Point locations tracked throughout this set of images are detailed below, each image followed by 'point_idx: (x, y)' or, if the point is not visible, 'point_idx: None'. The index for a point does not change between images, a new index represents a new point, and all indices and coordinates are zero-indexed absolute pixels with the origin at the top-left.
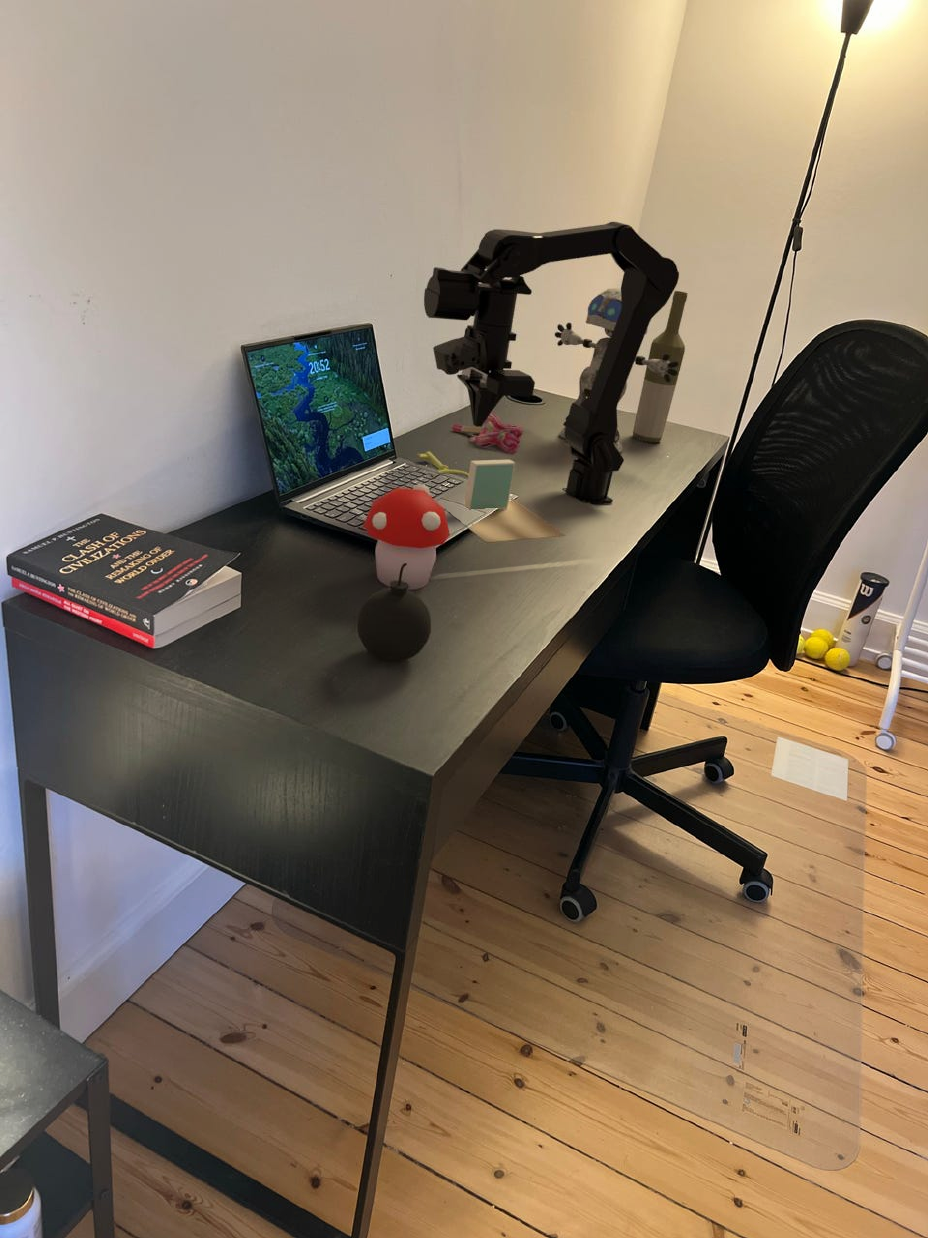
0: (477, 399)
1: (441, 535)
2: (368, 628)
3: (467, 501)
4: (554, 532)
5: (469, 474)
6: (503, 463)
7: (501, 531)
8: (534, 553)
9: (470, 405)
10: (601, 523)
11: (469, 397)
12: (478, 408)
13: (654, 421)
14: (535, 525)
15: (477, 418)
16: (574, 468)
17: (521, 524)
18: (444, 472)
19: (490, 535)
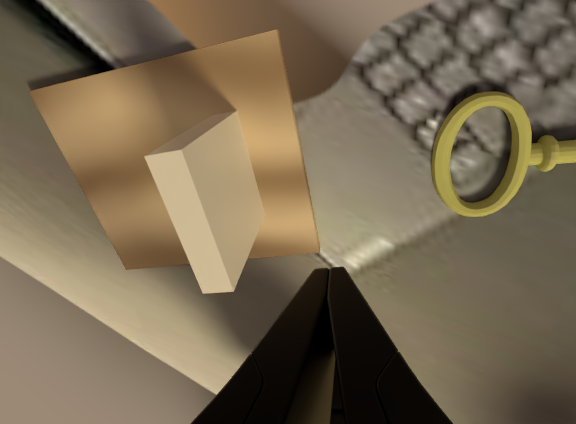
0: (242, 409)
1: None
2: None
3: (216, 117)
4: (132, 256)
5: (197, 135)
6: (188, 257)
7: (104, 152)
8: (42, 183)
9: (383, 333)
10: (216, 346)
11: (413, 387)
12: (255, 347)
13: None
14: (159, 236)
15: (293, 298)
16: (339, 414)
17: (156, 211)
18: (516, 147)
19: (70, 116)
